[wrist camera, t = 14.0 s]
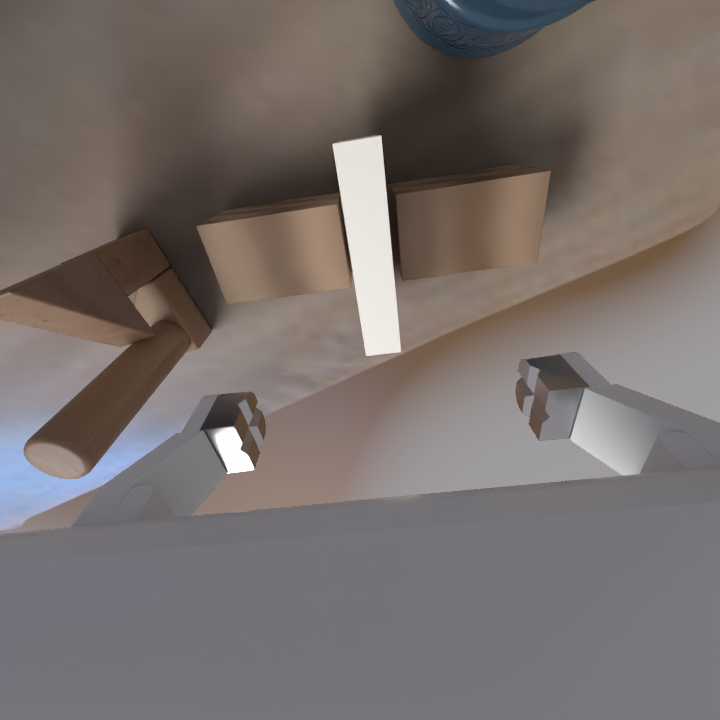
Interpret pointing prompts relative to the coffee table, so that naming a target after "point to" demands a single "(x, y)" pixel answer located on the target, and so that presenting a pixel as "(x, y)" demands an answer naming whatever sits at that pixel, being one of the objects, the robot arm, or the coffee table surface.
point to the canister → (481, 22)
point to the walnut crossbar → (407, 231)
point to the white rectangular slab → (369, 239)
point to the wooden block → (106, 341)
